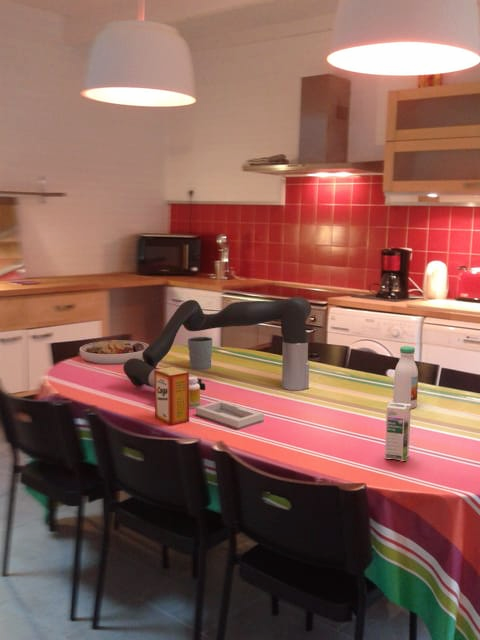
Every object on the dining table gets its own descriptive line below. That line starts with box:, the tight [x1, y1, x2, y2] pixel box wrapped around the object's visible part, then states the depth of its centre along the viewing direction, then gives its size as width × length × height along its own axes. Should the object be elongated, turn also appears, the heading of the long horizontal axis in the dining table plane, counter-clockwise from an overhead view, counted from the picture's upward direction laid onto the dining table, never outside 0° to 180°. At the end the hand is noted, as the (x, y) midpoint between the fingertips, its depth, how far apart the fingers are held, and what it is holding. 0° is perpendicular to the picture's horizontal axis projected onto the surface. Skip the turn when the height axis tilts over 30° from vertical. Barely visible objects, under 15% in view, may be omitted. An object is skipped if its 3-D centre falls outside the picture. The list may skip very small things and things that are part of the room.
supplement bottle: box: [189, 376, 201, 409], centre depth 223 cm, size 5×5×10 cm
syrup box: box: [384, 401, 412, 462], centre depth 178 cm, size 6×6×14 cm
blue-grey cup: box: [187, 336, 213, 371], centre depth 276 cm, size 10×10×12 cm
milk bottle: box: [392, 345, 419, 409], centre depth 223 cm, size 8×8×20 cm
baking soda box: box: [154, 366, 190, 427], centre depth 208 cm, size 10×6×16 cm
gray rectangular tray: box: [195, 400, 264, 430], centre depth 211 cm, size 19×11×3 cm, turn 44°
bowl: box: [79, 339, 150, 365], centre depth 294 cm, size 30×30×8 cm
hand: (194, 389), depth 222 cm, fingers open, 8 cm apart
